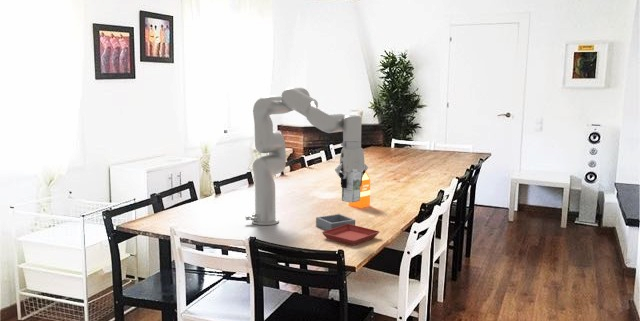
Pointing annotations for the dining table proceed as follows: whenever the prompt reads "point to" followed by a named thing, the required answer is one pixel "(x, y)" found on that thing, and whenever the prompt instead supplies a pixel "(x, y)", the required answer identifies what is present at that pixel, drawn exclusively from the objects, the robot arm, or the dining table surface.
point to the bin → (333, 221)
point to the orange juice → (363, 193)
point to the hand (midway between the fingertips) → (351, 186)
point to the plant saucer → (350, 234)
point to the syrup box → (352, 187)
